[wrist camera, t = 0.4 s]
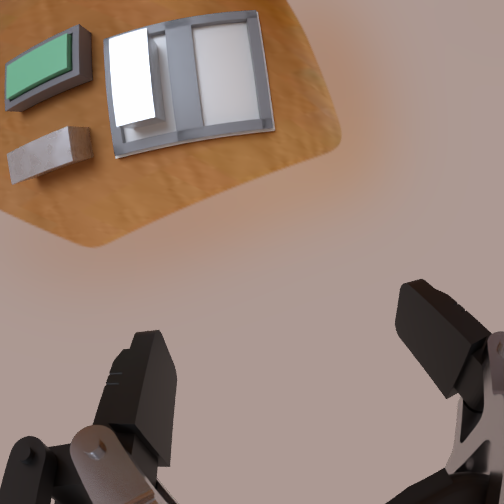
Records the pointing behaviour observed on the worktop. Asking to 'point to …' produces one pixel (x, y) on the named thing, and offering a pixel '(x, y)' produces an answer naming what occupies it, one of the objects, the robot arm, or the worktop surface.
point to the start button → (39, 66)
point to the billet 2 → (136, 80)
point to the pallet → (202, 82)
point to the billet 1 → (50, 153)
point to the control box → (63, 82)
